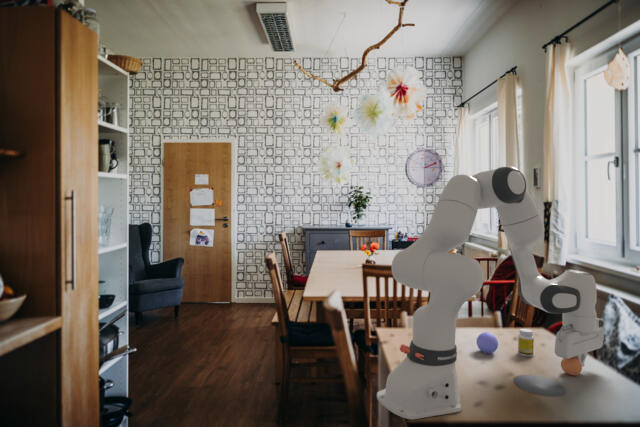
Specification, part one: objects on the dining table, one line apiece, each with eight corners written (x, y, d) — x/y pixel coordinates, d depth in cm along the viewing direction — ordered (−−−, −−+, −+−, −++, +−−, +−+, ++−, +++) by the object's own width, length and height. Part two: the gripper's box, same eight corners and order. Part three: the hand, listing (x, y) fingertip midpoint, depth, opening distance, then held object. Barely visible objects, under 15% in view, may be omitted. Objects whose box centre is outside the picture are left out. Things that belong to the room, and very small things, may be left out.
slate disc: (546, 400, 105) (546, 399, 105) (503, 380, 116) (503, 380, 116) (574, 389, 111) (575, 389, 111) (531, 372, 122) (531, 371, 122)
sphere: (493, 349, 141) (494, 330, 141) (500, 357, 134) (501, 336, 134) (473, 348, 142) (474, 329, 142) (479, 356, 135) (480, 335, 135)
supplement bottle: (535, 357, 134) (535, 332, 134) (520, 356, 135) (520, 331, 135) (530, 352, 139) (531, 328, 139) (516, 351, 140) (516, 327, 140)
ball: (577, 381, 118) (573, 365, 117) (558, 374, 123) (555, 359, 122) (587, 372, 120) (584, 356, 119) (568, 365, 125) (565, 350, 124)
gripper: (570, 330, 114) (570, 377, 115) (608, 320, 124) (607, 363, 124) (548, 324, 120) (548, 369, 120) (586, 315, 130) (586, 357, 130)
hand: (579, 366), depth 122 cm, fingers closed
